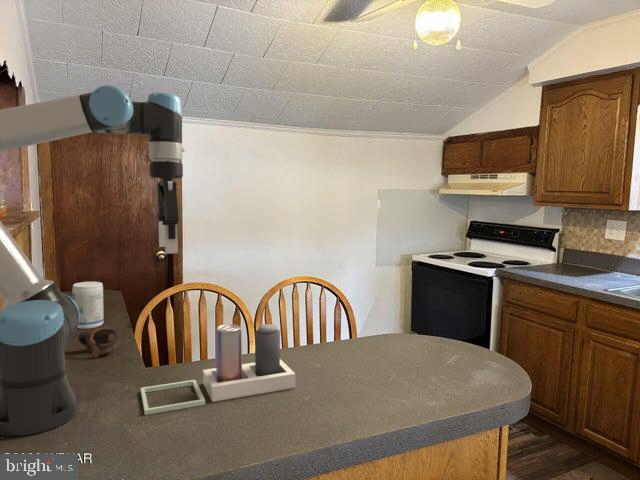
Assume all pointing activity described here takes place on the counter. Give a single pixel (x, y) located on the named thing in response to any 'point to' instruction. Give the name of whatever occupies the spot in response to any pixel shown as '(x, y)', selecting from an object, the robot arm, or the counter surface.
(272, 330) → the single round plug
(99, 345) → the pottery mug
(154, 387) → the rectangular frame
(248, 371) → the white divided tray
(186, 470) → the counter surface
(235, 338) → the beverage can
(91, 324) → the supplement tub
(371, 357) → the counter surface
